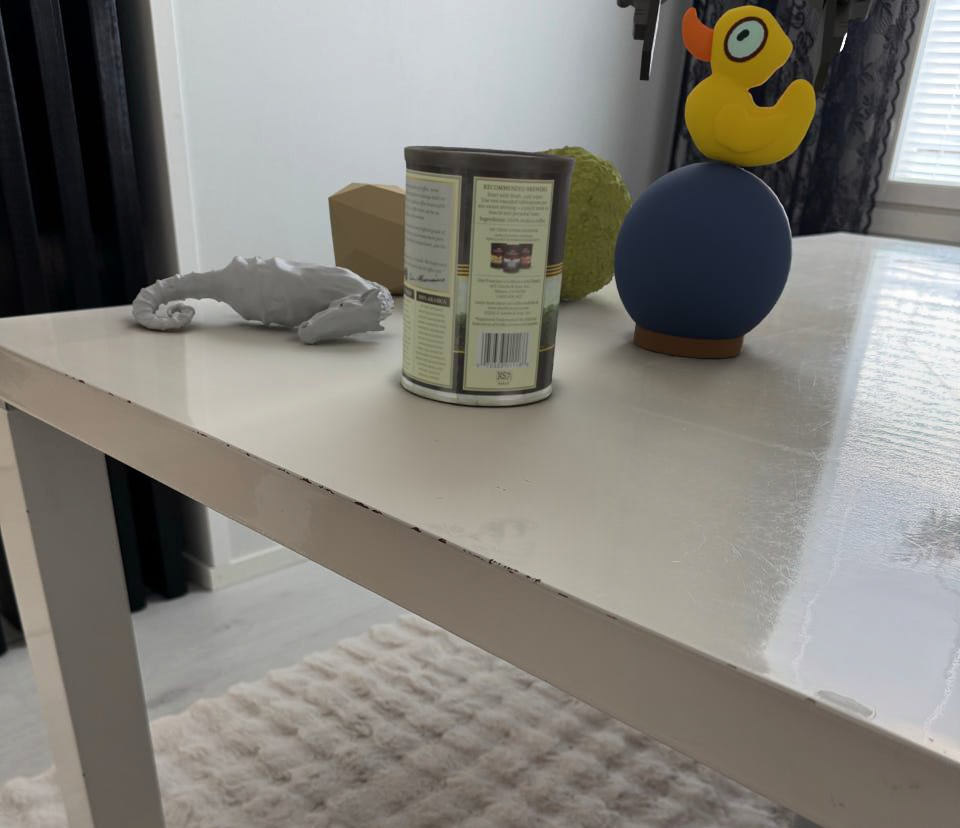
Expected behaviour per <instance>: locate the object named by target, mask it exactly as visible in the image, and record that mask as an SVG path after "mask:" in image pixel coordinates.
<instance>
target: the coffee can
mask: <svg viewBox="0 0 960 828" xmlns="http://www.w3.org/2000/svg"><path fill="white" fill-rule="evenodd" d="M536 152H537V151H522V150H521V151H520V150H509V149H508V150H506V149H495V148H494V149H492V148H479V147H478V148H477V147H462V146H461V147H460V146H458V147H457V146H440V145H407V146H405V147H404V148H403V157H404V161H405V190H406V196H405V254H404V294H403V313H402V315H403V317H402V366H401V367H402V368H401V371H402V372H401V376H400V383H401V385H402V387H403V388H404V389H406V390H407V391H409V392H411V393H413V394H415V395H417V396H420V397H423V398H427V399H430V400H435V401H439V402H443V403H444V402H445V403H452V404H457V405H463V406H473V407H475V406H476V407H477V406H478V407H510V406H519V405H520V406H521V405H526V404H531V403H535V402H539V401H542V400H544V399H546V398H548V397H549V396H550V395H551V394H552V393H553V384H552V383H553V372H554V363H555V362H554V361H555V351H556V339H557V331H558V319H559V310H560V299H561V298H560V289H561V278H562V268H563V258H564V249H565V238H566V228H567V218H568V207H569V196H570V186H571V177H572V173H573V171H574V168H575V161H576V160H575V159H574V158H573V157H569V156H562V155H555V154H546V153H536Z"/></svg>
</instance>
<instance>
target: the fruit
mask: <svg viewBox="0 0 960 828" xmlns="http://www.w3.org/2000/svg"><path fill="white" fill-rule="evenodd" d="M535 152H536V153H546V154H555V155H562V156H569V157H573V158H574V159H575V160H576V161H575V168H574V171H573V173H572V177H571V186H570V196H569V207H568V218H567V228H566V238H565V249H564V258H563V268H562V278H561V289H560V299H565V300H566V301H568V300H570V299H574V300H577V301H578V300H581V299H582V298H583V299H584V298H586V297H587V296H588V295H590V294H592V293H595V292H596V293H597V292H598V291H600V290H602V289H603V288H604V287H605V286H608V285H609V284H610V283H611V282H612V281H613V278H614V277H615V275H614V253H615V247H616V241H617V237H618V234H619V231H620V228H621V225H622V223H623V221H624V219H625V217H626V215H627V213H628V211H629V210H630V208H631V206H632V205H633V201H634V199H633V198H632V197H631V196H630V193H629V191H628V187H627V185H626V183H625V182H624V180H623V177H622V176H621V174H620V172H619V171H618V169H617V168H616V167H615V165H614V164H613V162H612V161H610V160H608V159H605V158H603V157H601V155H598V154H595V153H593V152H591V151H589V150H587V149H585V148H584V147H582V146H575V145H573V146H568V145H567V144H566V145H565V146H564V147H562V148H553V149H552V148H549V149H548V150H543V151H535Z"/></svg>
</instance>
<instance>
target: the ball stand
mask: <svg viewBox="0 0 960 828" xmlns="http://www.w3.org/2000/svg"><path fill="white" fill-rule="evenodd" d="M792 236H793V235H792V230H791V227H790V222H789V218H788V216H787V213H786V211H785V208H784V206H783V204H782V202H781V201H780V200H779V198H778V196H777V194H776V193H775V192H774V191H773V190H772V189H771V187H770V186H769V185H767V184H766V183H765V182H764V181H763V180H762V179H761V178H759V177H758V176H757V175H756V174H754V173H752V172H750V171H748V170H746V169H744V168H742V167H741V166H737V165H733V164H728V163H724V162H719V161H717V162H716V161H714V162H713V161H712V162H711V161H704V162H698V163H692V164H691V163H690V164H688V165H685V166H681V167H678V168H676V169H674V170H672V171H670V172H668V173H666V174H664V175H662V176H661V177H659V178H657V179H656V180H655V181H654V182H653V183H651V184H649V186H648V187H646V189H645V190H644V191H643V192H641V193H640V195H639V196H638V197H637V198H636V200H635V201H634V203H632V204H631V208H630V210H629V211H628V213H627V215H626V217H625V219H624V221H623V223H622V225H621V228H620V231H619V234H618V237H617V241H616V247H615V253H614V275H615V276H614V281H615V286H616V290H617V293H618V296H619V299H620V301H621V303H622V306H623V307H624V309H625V311H626V312H627V314H628V316H629V317H630V319H631V320H632V321H633V322H634V323H635V325H634V333H633V334H634V335H633V343H634V344H635V345H636V346H639V347H641V348H643V349H644V350H645V349H646V350H649V351H651V352H655V353H658V354H659V353H660V354H664V355H669V356H670V355H671V356H674V357H675V356H676V357H683V358H692V359H693V358H694V359H727V358H733V357H737V356H739V355H740V354H741V353H742V351H743V346H744V341H745V335H747V334H748V333H751V331H753V330H754V329H755V328H756V327H757V326H759V325H760V324H761V323H762V322H763V321H764V319H766V317H767V316H768V315H769V314H770V313H771V312H772V310H773V309H774V307H775V306H776V305H777V303H778V301H779V300H780V298H781V297H782V294H783V292H784V290H785V287H786V284H787V282H788V279H789V275H790V272H791V267H792V260H793V237H792Z"/></svg>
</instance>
